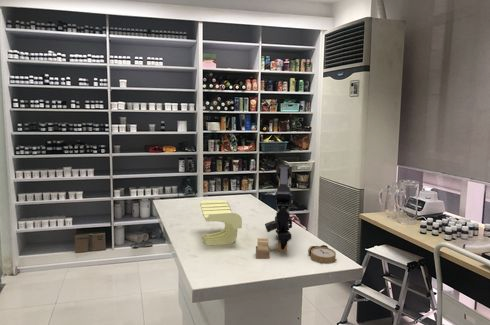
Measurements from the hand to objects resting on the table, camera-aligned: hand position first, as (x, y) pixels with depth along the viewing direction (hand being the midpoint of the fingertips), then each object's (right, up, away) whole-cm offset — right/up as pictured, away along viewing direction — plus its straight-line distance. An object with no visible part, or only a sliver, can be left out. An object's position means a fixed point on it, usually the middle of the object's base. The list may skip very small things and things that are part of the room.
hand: (282, 247), depth 188 cm
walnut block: (-10, -2, -9) cm, 14 cm away
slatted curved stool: (-31, +1, +14) cm, 34 cm away
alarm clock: (+17, -3, -9) cm, 20 cm away
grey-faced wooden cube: (0, -1, 0) cm, 1 cm away
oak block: (-10, +2, -9) cm, 14 cm away
